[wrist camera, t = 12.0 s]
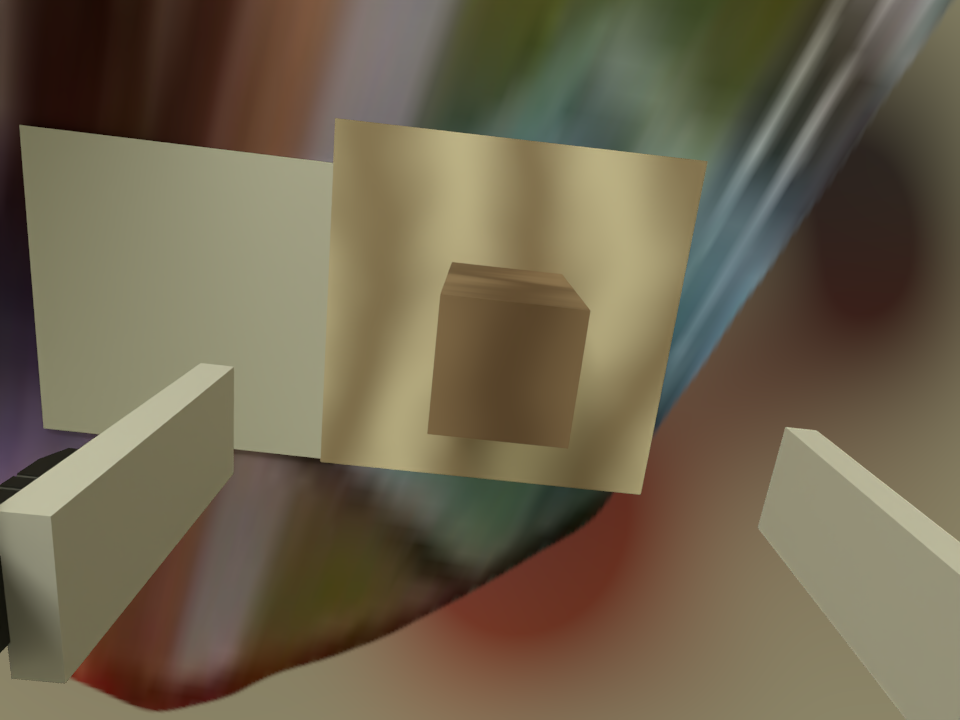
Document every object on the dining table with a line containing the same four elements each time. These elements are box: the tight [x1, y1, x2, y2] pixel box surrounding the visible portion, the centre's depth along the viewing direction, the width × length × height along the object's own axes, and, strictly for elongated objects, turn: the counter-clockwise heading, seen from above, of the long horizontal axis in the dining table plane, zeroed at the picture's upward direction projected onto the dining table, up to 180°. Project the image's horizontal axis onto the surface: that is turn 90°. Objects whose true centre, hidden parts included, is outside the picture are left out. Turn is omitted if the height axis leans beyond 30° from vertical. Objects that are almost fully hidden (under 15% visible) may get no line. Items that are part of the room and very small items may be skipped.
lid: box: [320, 118, 707, 495], centre depth 26 cm, size 16×16×9 cm
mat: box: [19, 125, 333, 458], centre depth 42 cm, size 20×20×1 cm
